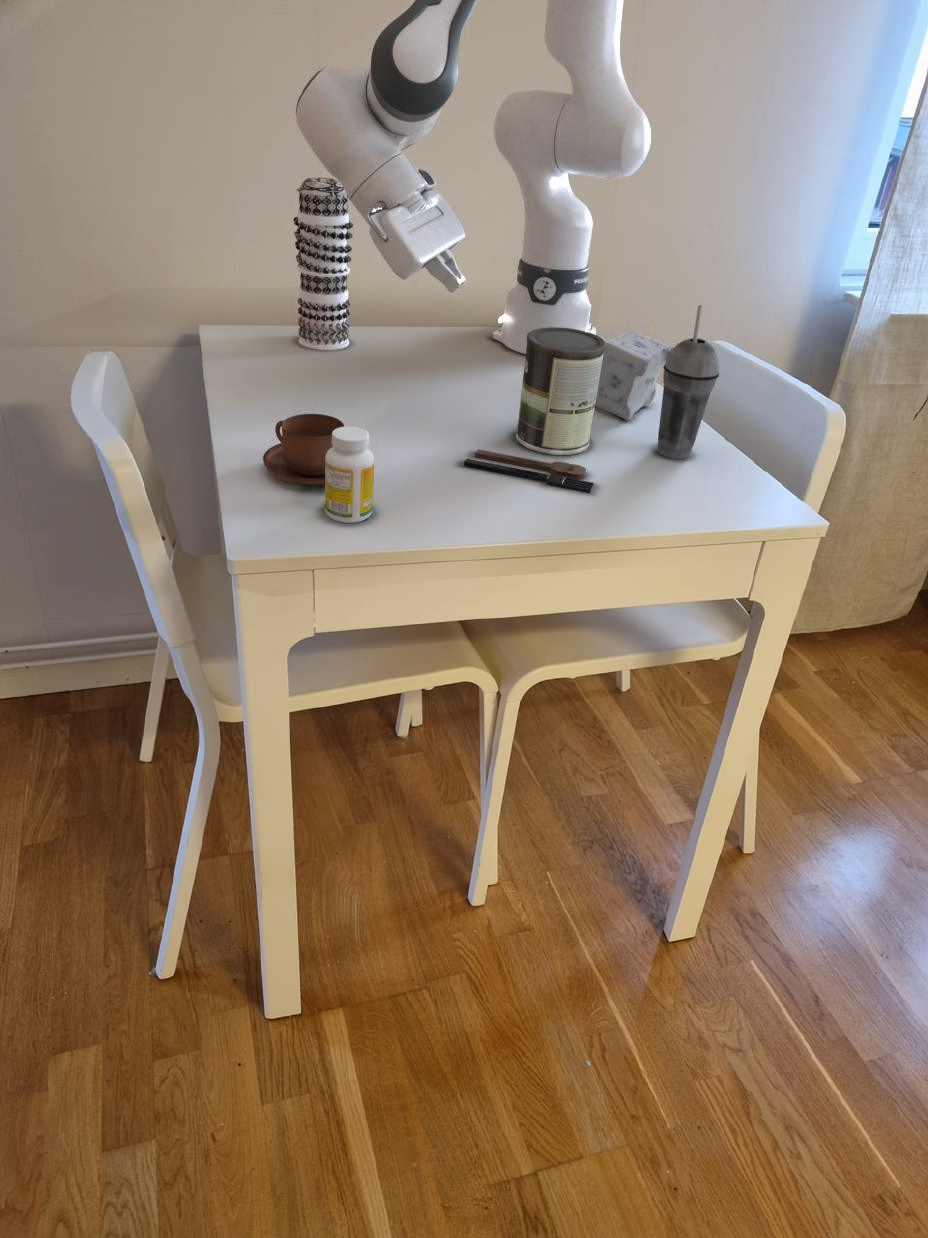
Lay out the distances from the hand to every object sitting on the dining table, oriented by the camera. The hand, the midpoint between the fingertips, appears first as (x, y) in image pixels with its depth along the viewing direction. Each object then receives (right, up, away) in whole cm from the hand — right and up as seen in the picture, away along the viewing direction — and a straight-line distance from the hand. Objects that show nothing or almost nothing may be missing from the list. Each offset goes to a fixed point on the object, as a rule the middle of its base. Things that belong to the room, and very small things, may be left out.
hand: (459, 287), depth 123 cm
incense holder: (+25, -12, +19) cm, 33 cm away
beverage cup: (+30, -21, +6) cm, 37 cm away
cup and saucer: (-18, -26, -9) cm, 33 cm away
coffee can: (+13, -19, +6) cm, 24 cm away
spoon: (+9, -24, -2) cm, 26 cm away
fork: (+8, -26, -5) cm, 27 cm away
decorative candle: (-23, +3, +34) cm, 41 cm away
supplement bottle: (-12, -32, -17) cm, 38 cm away
